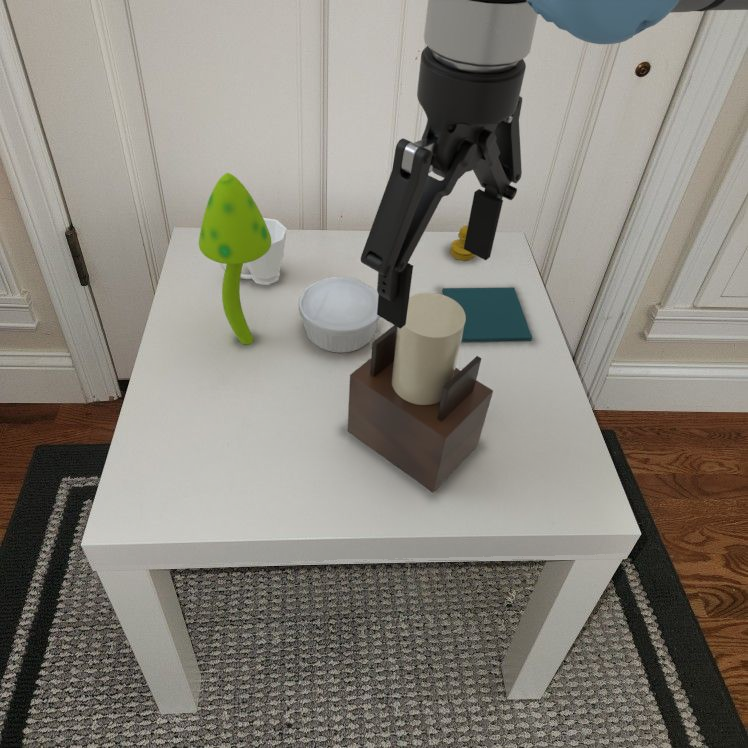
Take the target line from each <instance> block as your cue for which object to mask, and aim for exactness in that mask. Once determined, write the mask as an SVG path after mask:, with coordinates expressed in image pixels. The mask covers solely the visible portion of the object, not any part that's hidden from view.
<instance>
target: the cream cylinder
mask: <svg viewBox="0 0 748 748" xmlns="http://www.w3.org/2000/svg"><path fill="white" fill-rule="evenodd" d="M465 321H466V315H465V312H464V310H463V308H462V307H461V306H460V305H459V304H458V303H457V302H456V301H455V300H453V299H451V298H449V297H447V296H445V295H443V294H442V293H436V292H421V293H416V294H413V295H412V296H411V295H410V296H409V303H408V311H407V318H406V325H405V326H403V327H402V328H401V329H400V328H398V327H397V335H396V344H395V353H394V362H393V371H392V386H393V389H394V390H395V392H396V393H397V394H398V395H399V396H400V397H401V398H402V399H404V400H406V401H408V402H410V403H413V404H417V405H432V404H436V403H438V402H440V401H441V397H442V392H443V387H444V386H445V385H446V384H447V383H448V382H449V381H450V380H451V379H453V378H454V373H455V368H457V364H458V359H459V354H460V349H461V345H462V342H461V340H462V335H463V331H464V326H465Z"/></svg>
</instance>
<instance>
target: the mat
mask: <svg viewBox="0 0 748 748" xmlns="http://www.w3.org/2000/svg"><path fill="white" fill-rule="evenodd" d="M441 292H442V295H445V296H447V297H449V298H451V299H453V300H455V301H456V302H457V303H458V304H459V305H460V306H461V307H462V308H463V310H464V312H465V315H466V321H465V326H464V331H463V335H462V340H461V343H479V342H481V343H483V342H525V341H528V342H530V341H532V340H533V336H532V333H531V331H530V328H529V325H528V322H527V320H526V316H525V314H524V311H523V308H522V306H521V303H520V300H519V297H518V294H517V291H516V289H515V287H514V286H513V287H511V286H510V287H442V290H441Z"/></svg>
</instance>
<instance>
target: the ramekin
mask: <svg viewBox="0 0 748 748" xmlns="http://www.w3.org/2000/svg"><path fill="white" fill-rule="evenodd" d="M378 295H379V294H378V292H377V289H375V288H374V287H373V286H371V285H370V284H368V283H366V282H365V281H362V280H360V279H356V278H354V277H353V278H352V277H346V276H331V277H326V278H322V279H320V280H316V281H315V282H313V283H311V284H310V285H308V286H307V287H306V288H304V289H303V291H302V292H301V293H300V296H299V298H298V305H297V306H298V312H299V315H300V318H301V319H302V323H303V327H304V330H305V333H306V336H307V337H308V338H309V340H310V341H311V342H312V343H313V344H314V345H316V347H318V348H320V349H322V350H324V351H326V352H327V351H328V352H331V353H341V354H343V353H350V352H354V351H357V350H359V349H361V348H364V346H367V344H369V343H370V341H372V339H373V337H374V336H375V333H376V330H377V327H378V324H379V321H380V320H381V318H382V317H380V316H379V315H377V307H378Z"/></svg>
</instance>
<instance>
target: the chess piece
mask: <svg viewBox="0 0 748 748" xmlns="http://www.w3.org/2000/svg"><path fill="white" fill-rule="evenodd" d="M467 228H468V225H463V226H461V228H459V233H458V234H457V235H458V236H457V237H458V238H459V239H456V240H454V241H452V243H451V244H450V245H451V246H450V251H449V252H450V255H451V257H453V258H454V259H456V260H458V261H464V262H465V261H470V260H472V259H473V258H474V257H475V255H474V254H472V253H471V252H469V251H467V250H465V249H464V244H465V239H466V234H467Z"/></svg>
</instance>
